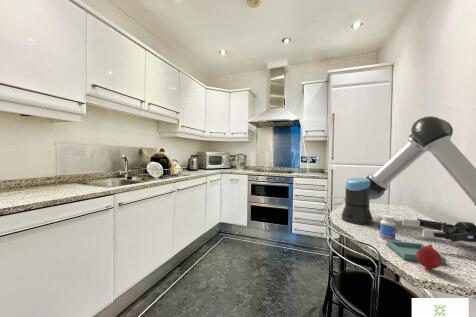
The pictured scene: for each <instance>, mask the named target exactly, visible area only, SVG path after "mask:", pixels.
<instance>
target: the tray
mask: <svg viewBox="0 0 476 317" xmlns="http://www.w3.org/2000/svg"><path fill="white" fill-rule="evenodd" d="M386 246H387V247H388V248H389V249H390V250H391V251H393V252H394V253H395V254H396V255H398V257H400V258H401V259H402V260H404V261H411V262H417V263H418V262H419V261H418V259H417V256H416V253H417V251H418V250H419V249H420V248H422V247H425V246H426V245H425V244H423V243H420V242H419V243H418V242H410V241H400V240H399V241H398V240H394V241H391V240H386ZM440 256H441V258H442V263H441V265H444V266H445V265H446V263H447V262H446V261H447V258H446V257H445V256H443V255H441V254H440Z"/></svg>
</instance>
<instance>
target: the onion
mask: <svg viewBox="0 0 476 317" xmlns="http://www.w3.org/2000/svg"><path fill="white" fill-rule="evenodd" d="M440 255H441V254H440V253H439V252H438V251H437V250H436V249H435V248H434V247H433V245H432V244H431V243H428V244H427V245H425V247H422V248H420V249H419V250H418V251H417V253H416V256H417V259H418V261H419V264H420V265H421V266H423V267H424V268H425V269H427V270H428V271H431V270H433V269H437V268H439V267H440V266H441V265H442V264H441V263H442V258H441V256H442V255H441V256H440ZM418 261H417V262H418Z"/></svg>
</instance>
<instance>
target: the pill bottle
mask: <svg viewBox="0 0 476 317" xmlns="http://www.w3.org/2000/svg"><path fill="white" fill-rule="evenodd" d="M394 221H395V217H394V216H392V215H387V214H383V215H382V220H380V229H379V230H380V231H379V238H381V239H382V240H383V241H384V240H385V241H387V240H391V241H396V230H397V225H396V222H394Z"/></svg>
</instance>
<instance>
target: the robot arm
mask: <svg viewBox="0 0 476 317" xmlns="http://www.w3.org/2000/svg"><path fill="white" fill-rule="evenodd" d="M410 132H411V134H410V135H409V136H408V138H407V139H408V141H407V142H406V143H404V145H402V147H401V148H400V149H399V150H398V151H396V153H394V154H393V155H392V156H391V157H390V158H389V159H388V160H387V161H386V162H384V164H383V165H382V166H381V167H379V169H377V171H376V172H373V173H369V174H368V175H367V176H366V177H351V178H347V179H346V182H345V201H344V202H345V203H344V204H345V205H344V207H343V210H342V212H341V215H340V216H341V220H343V221H345V222H347V223H351V224H354V225H355V224H356V225H365V226H366V225H367V226H370V225H372V224H373V223H374V222H373V220H374V218H373V216H372V213H371V209H370V201H371V200H377V199H380V198H381V197H383V195H384V194H385V192H386V191H387V190H388V189H389V187H390V186H389V184H391V183H392V181H394V180H395V179H396V178H397V177H398V176H400V174H401V173H403V172H404V171H405V170H406V169H407V168H408V167H410V166H411V165H412V164H413V163H414V162H415V161H417V160H418V159H419V158H420V157H421V156H423V154H424V153H427V152H430V153H431V154H432V156H434V157H435V159H436V160H437V161H438V162H439V164H440V165H441V166H442V168H444V170H445V171H446V173H447V174H449V175H450V177H451V178H452V179H453V180H454V182H455V183H456V184H457V185H458V186H459V188H461V190H462V191H463V192H464V194H465V195H466V196H467V197H468V198H469V199H470V200H471V202H472V203H473V204H474V206H476V167H475V165H474V164H473V163H472V162H471V161H470V160H469V159H468V158H467V157H466V156H465V154H463V153H462V152H461V150H460V149H459V148H458V147H457V146H456V144H455V143H453V141H451V139H452V137H453V133H454V128H453V126H452V125H451V124H450V122H449V121H447V120H445V119H442V118H439V117H437V116H424V117H421V118H419V119H417V120H416V121H415V122H414V123H413V124H412V126H411V131H410ZM401 222H402V223H401V224H402V226H405V227H416V228H421V227H424V228H423V229H422V237H423V238H433V239H434V238H435V239H443V240H448V241H449V240H450V242H455V243H456V242H462V241H463V242H470V243H476V222H468V221H458V222H456V223H455V225H454V224H450V223H448V224H447V223H446V222H441V221H433V220H428V219H427V220H426V219H420V218H417V219H405V218H402V221H401ZM425 228H427V229H425Z"/></svg>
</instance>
